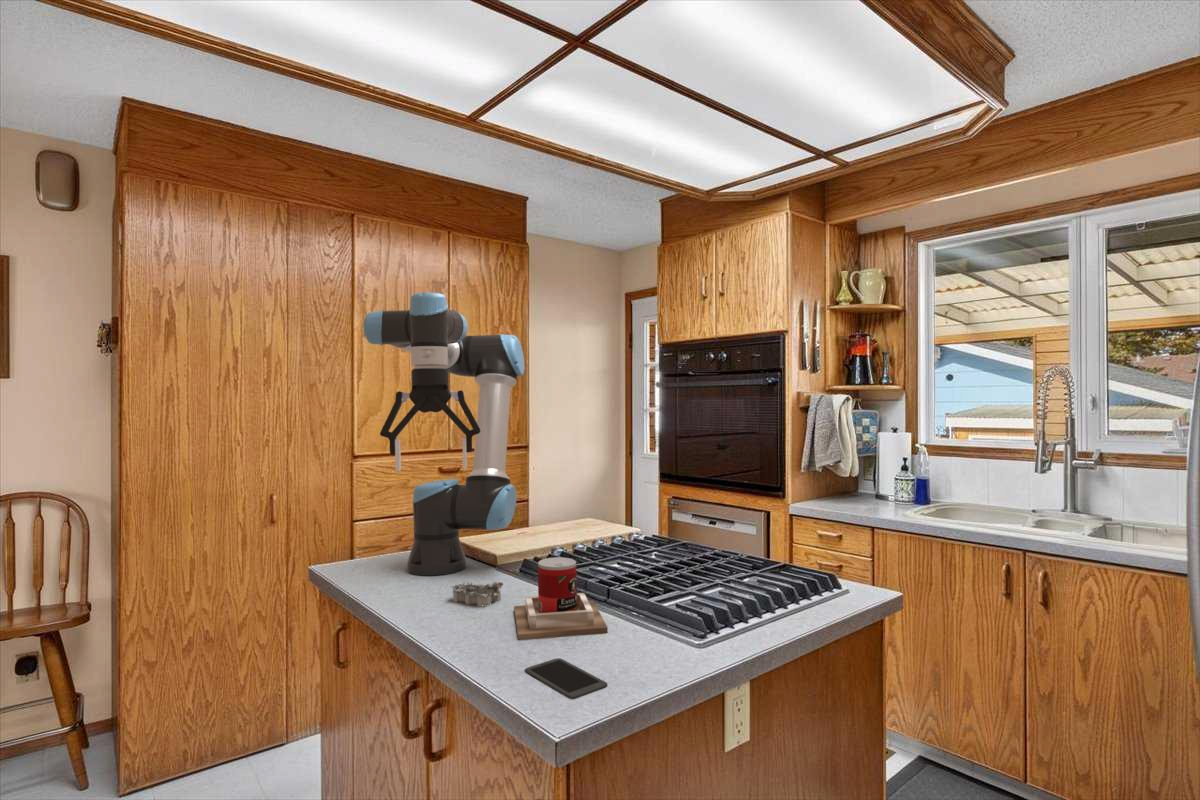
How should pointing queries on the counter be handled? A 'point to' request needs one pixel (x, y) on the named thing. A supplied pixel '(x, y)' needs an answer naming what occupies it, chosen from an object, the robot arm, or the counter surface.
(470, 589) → the egg carton
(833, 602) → the counter surface
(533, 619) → the socket board
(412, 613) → the counter surface
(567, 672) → the cell phone
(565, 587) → the canned food
